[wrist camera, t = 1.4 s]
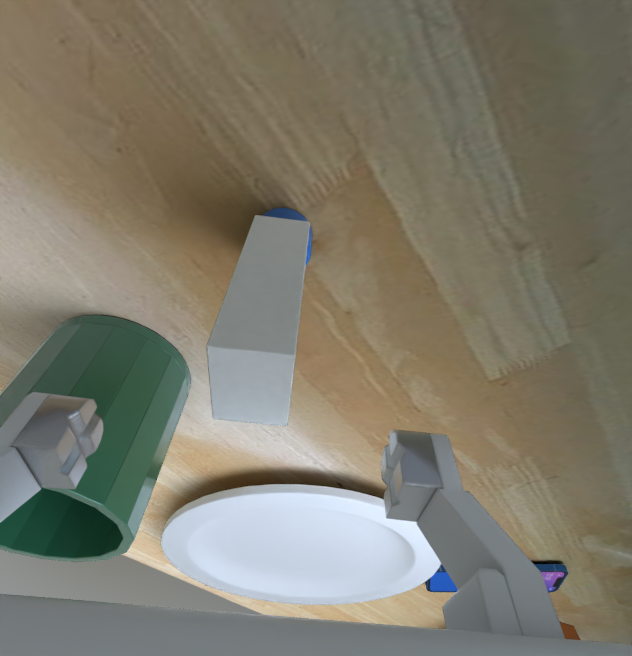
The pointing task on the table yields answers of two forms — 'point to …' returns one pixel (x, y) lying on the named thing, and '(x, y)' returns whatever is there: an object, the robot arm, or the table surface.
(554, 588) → the smartphone
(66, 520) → the green cup
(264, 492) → the plate
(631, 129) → the table surface
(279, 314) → the toothpaste
